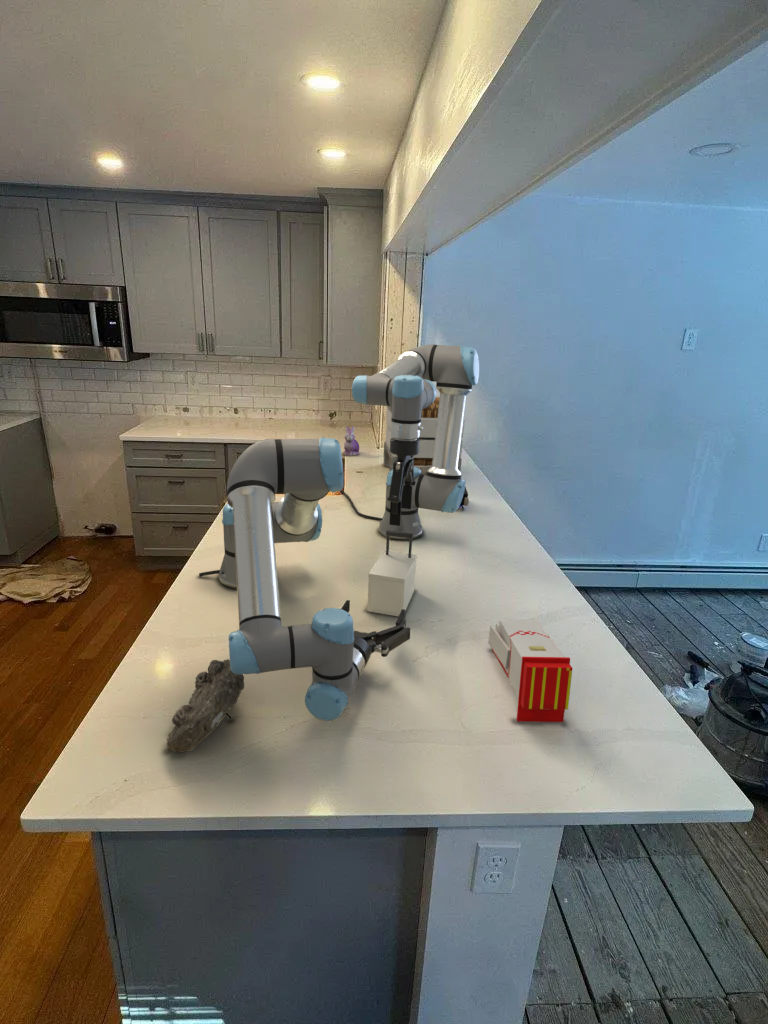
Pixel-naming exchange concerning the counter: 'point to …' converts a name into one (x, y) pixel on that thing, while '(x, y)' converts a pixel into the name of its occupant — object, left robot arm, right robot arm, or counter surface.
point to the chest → (390, 594)
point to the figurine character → (464, 499)
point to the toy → (533, 669)
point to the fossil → (205, 706)
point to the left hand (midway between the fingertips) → (375, 609)
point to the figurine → (350, 442)
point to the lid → (394, 561)
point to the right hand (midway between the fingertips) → (400, 516)
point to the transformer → (425, 437)
